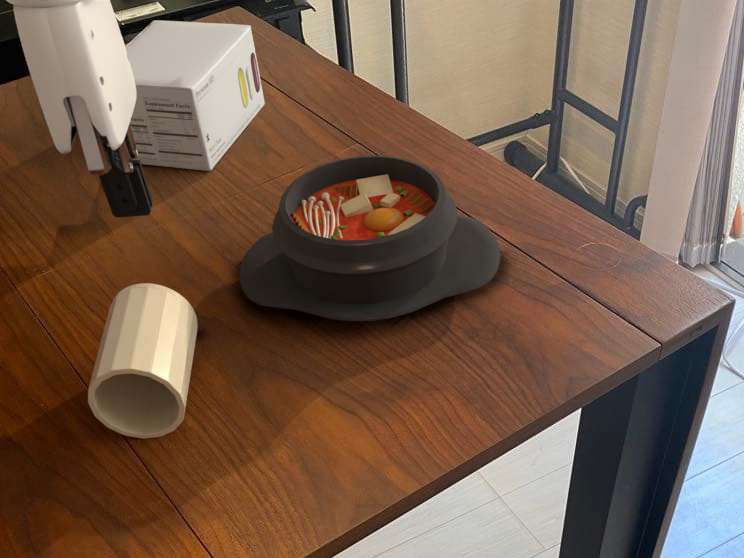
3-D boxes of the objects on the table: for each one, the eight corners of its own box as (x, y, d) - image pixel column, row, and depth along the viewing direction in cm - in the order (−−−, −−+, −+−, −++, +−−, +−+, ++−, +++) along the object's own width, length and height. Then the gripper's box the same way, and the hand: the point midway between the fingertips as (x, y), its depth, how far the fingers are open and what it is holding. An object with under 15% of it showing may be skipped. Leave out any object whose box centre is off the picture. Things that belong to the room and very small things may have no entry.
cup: (127, 356, 76) (107, 442, 70) (97, 287, 71) (73, 374, 64) (207, 348, 76) (195, 433, 69) (184, 278, 70) (168, 364, 64)
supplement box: (213, 173, 96) (191, 88, 88) (111, 164, 98) (82, 80, 91) (267, 103, 105) (252, 21, 98) (173, 97, 108) (151, 16, 101)
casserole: (235, 349, 76) (213, 269, 69) (249, 234, 87) (231, 155, 81) (511, 326, 75) (515, 243, 69) (489, 213, 87) (490, 133, 80)
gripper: (21, -72, 61) (105, 169, 76) (-35, 10, 52) (73, 266, 67) (123, -80, 61) (187, 162, 76) (85, 1, 52) (166, 259, 67)
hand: (133, 210), depth 71 cm, fingers closed
